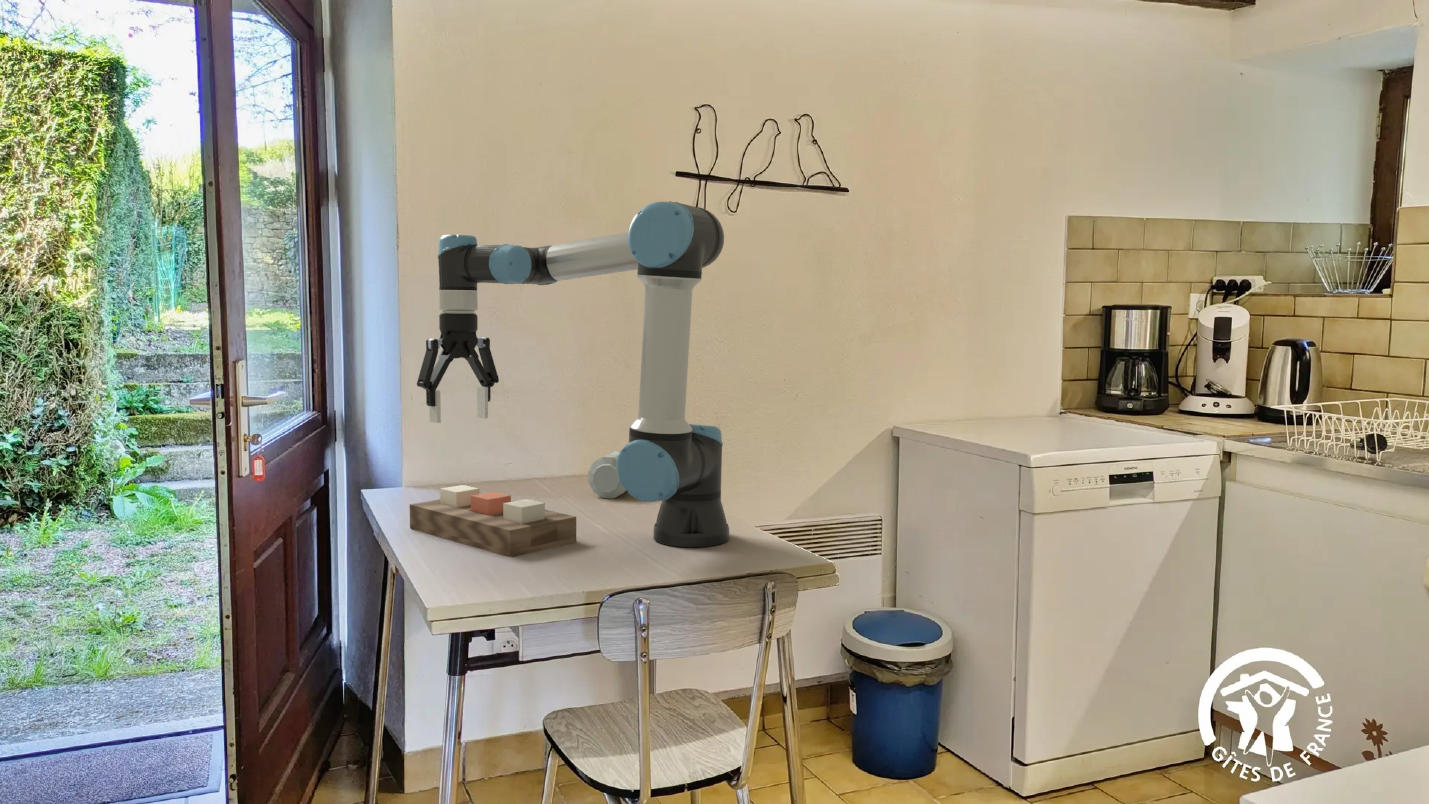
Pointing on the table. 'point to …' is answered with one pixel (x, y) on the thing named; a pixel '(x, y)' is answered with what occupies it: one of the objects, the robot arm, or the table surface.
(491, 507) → the button middle
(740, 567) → the table surface
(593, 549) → the table surface
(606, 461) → the device
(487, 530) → the wooden button box
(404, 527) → the table surface
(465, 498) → the button back
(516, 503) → the button front
